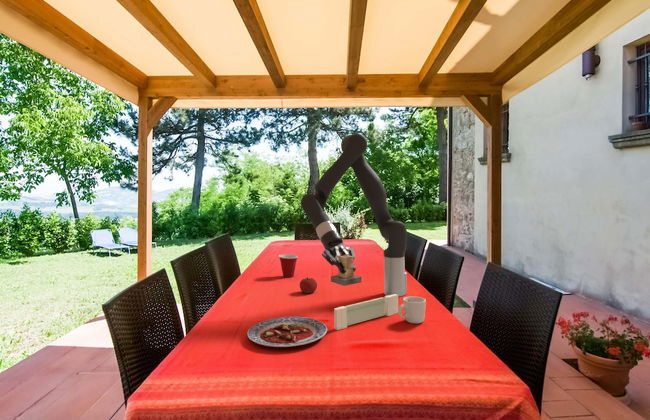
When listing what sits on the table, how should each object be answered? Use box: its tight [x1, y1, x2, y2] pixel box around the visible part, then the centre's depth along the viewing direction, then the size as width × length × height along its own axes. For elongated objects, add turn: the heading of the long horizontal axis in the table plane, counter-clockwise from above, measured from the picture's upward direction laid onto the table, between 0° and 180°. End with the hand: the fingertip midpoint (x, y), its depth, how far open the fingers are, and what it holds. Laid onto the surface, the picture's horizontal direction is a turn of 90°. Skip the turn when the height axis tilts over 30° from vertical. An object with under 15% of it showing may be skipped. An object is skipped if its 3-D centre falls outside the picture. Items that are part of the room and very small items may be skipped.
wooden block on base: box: [330, 255, 362, 287], centre depth 137 cm, size 8×8×10 cm
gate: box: [344, 297, 386, 327], centre depth 133 cm, size 18×1×6 cm, turn 125°
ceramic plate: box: [247, 316, 328, 348], centre depth 121 cm, size 26×26×3 cm
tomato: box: [299, 277, 318, 295], centre depth 174 cm, size 8×8×7 cm
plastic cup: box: [278, 253, 299, 279], centre depth 208 cm, size 11×11×12 cm
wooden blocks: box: [333, 294, 399, 331], centre depth 134 cm, size 29×2×7 cm, turn 125°
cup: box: [398, 295, 427, 324], centre depth 131 cm, size 11×8×8 cm
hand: (349, 271), depth 135 cm, fingers closed on wooden block on base, 4 cm apart
